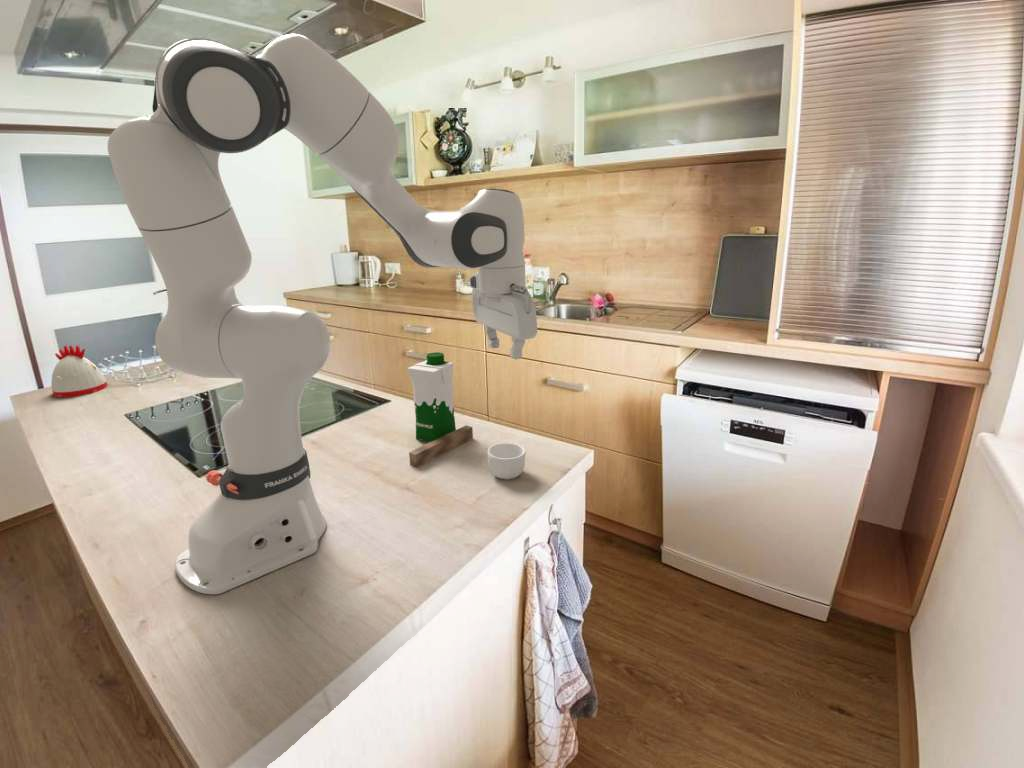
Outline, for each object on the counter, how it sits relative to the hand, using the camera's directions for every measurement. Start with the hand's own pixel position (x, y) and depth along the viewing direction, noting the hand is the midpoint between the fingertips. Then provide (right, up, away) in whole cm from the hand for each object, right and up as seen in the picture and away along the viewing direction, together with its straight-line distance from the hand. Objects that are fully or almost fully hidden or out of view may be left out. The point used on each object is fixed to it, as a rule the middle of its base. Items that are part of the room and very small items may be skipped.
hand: (504, 352), depth 101 cm
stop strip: (-14, -21, +16) cm, 30 cm away
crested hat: (-140, -8, +68) cm, 155 cm away
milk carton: (-17, -19, +24) cm, 35 cm away
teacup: (0, -25, +6) cm, 25 cm away
